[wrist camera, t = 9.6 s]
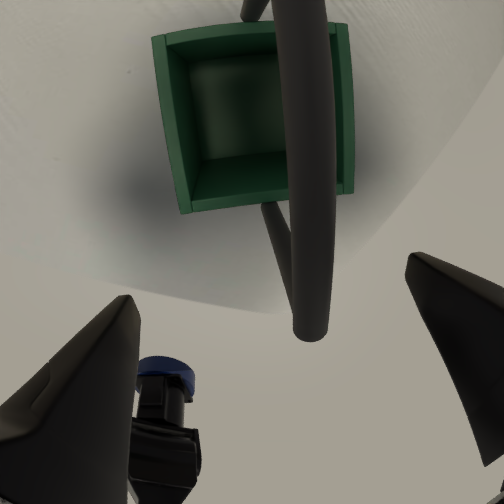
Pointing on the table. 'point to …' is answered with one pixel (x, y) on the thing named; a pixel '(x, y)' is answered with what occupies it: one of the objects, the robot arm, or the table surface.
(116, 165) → the table surface
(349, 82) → the pail
